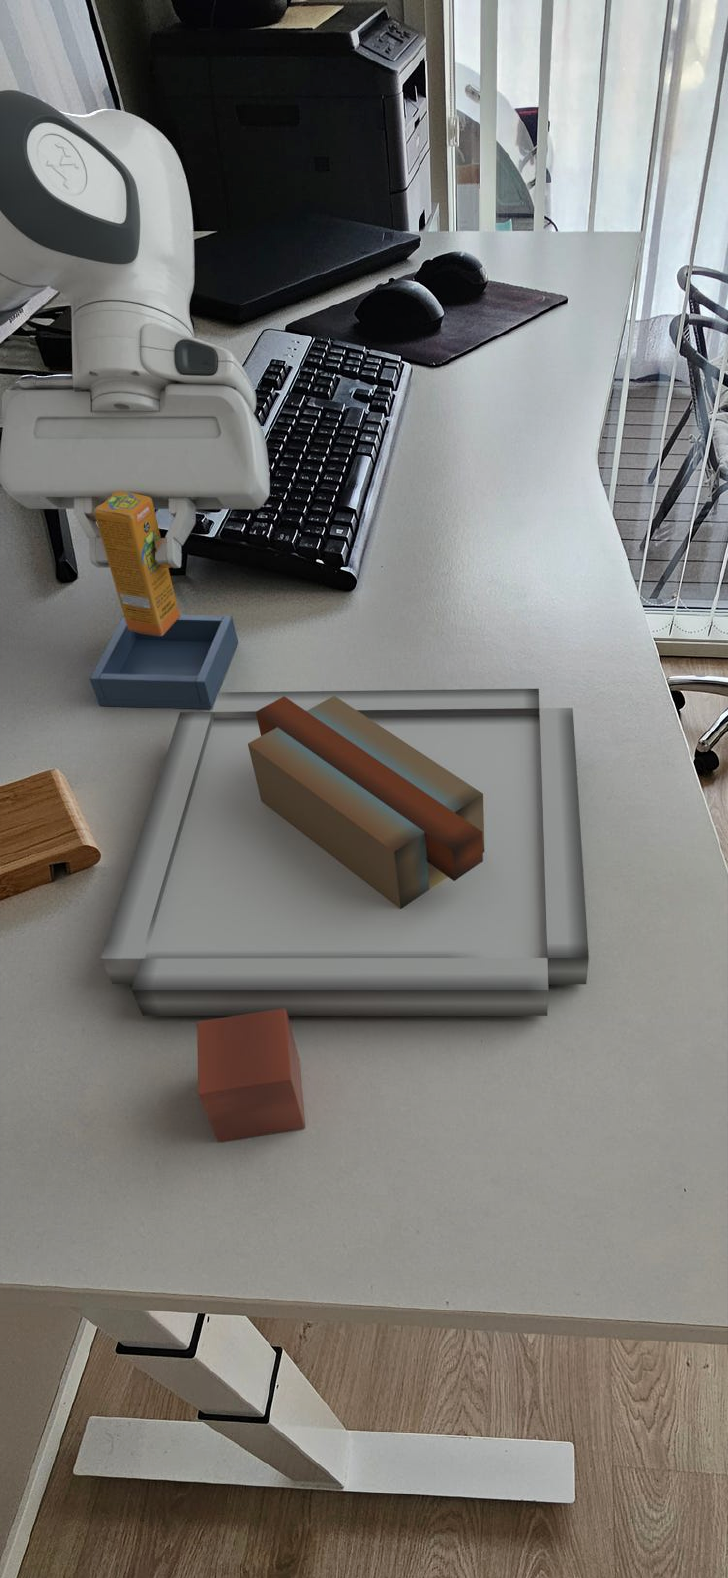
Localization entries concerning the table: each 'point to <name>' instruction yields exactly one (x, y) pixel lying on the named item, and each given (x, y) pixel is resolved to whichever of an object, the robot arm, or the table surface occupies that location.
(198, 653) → the blue tray
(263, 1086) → the rust block
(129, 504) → the supplement box
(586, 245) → the table surface
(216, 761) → the grey square tray
